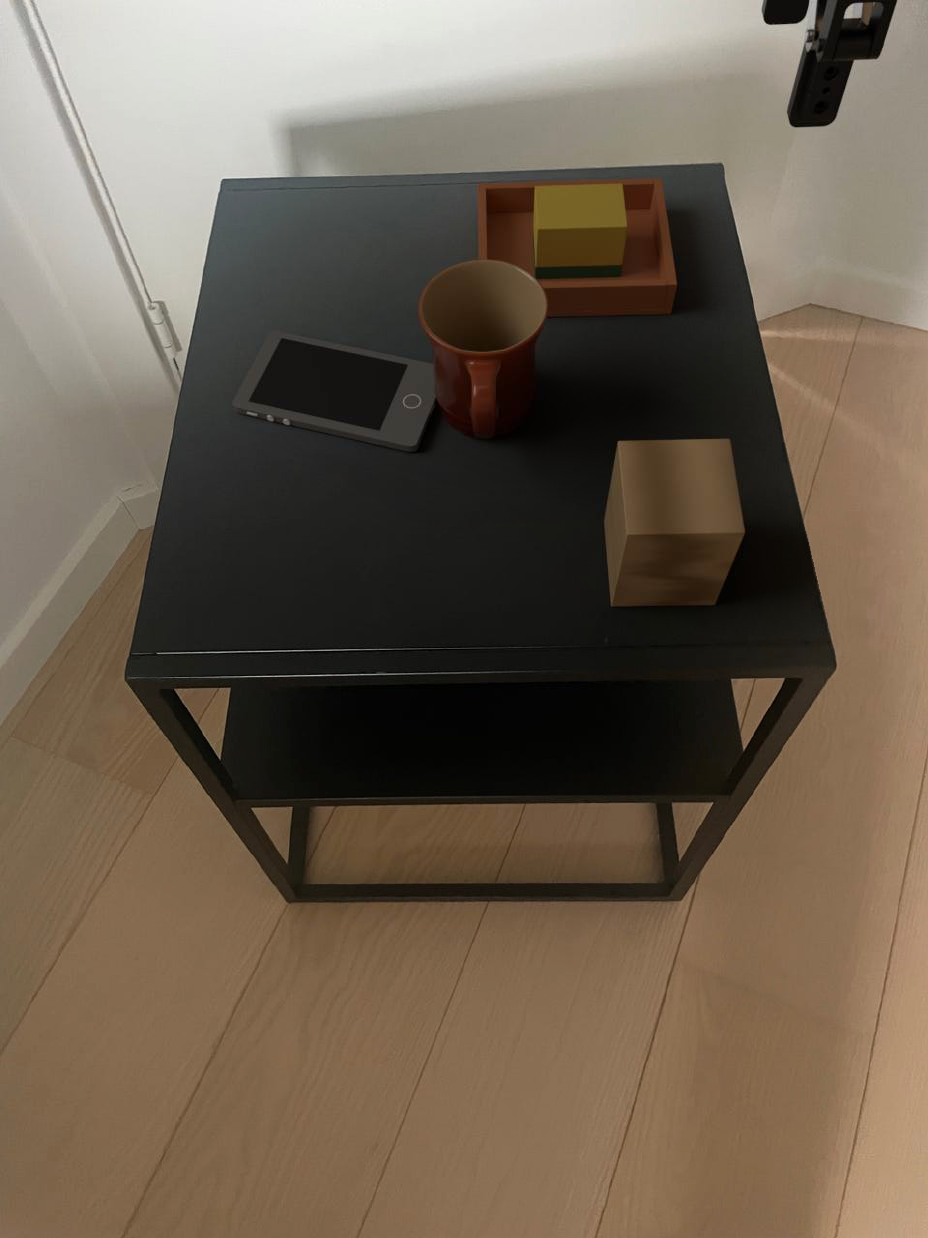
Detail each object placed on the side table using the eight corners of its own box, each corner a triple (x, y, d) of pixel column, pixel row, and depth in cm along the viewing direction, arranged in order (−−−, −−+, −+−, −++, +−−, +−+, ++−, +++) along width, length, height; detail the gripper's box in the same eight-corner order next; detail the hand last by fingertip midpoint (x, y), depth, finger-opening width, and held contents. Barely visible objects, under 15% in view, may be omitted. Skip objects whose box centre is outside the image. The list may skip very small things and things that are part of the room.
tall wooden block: (703, 518, 68) (730, 438, 60) (715, 605, 64) (745, 532, 56) (603, 520, 68) (617, 440, 60) (610, 607, 65) (626, 534, 57)
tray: (656, 208, 83) (661, 177, 80) (670, 314, 77) (677, 284, 74) (478, 213, 83) (477, 182, 80) (479, 318, 77) (478, 289, 75)
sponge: (616, 234, 80) (622, 182, 76) (620, 277, 78) (627, 226, 74) (532, 236, 81) (534, 185, 76) (534, 279, 78) (537, 228, 74)
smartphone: (230, 412, 73) (228, 406, 73) (271, 335, 77) (269, 329, 76) (415, 454, 71) (414, 448, 70) (448, 372, 74) (448, 366, 74)
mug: (429, 363, 75) (420, 259, 66) (541, 362, 75) (546, 257, 66) (424, 488, 70) (413, 393, 61) (545, 487, 69) (552, 392, 60)
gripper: (1082, -306, 30) (900, 158, 44) (971, -459, 37) (844, -14, 51) (840, -292, 30) (737, 164, 45) (774, -446, 37) (703, -8, 52)
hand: (794, 68), depth 48 cm, fingers open, 8 cm apart
